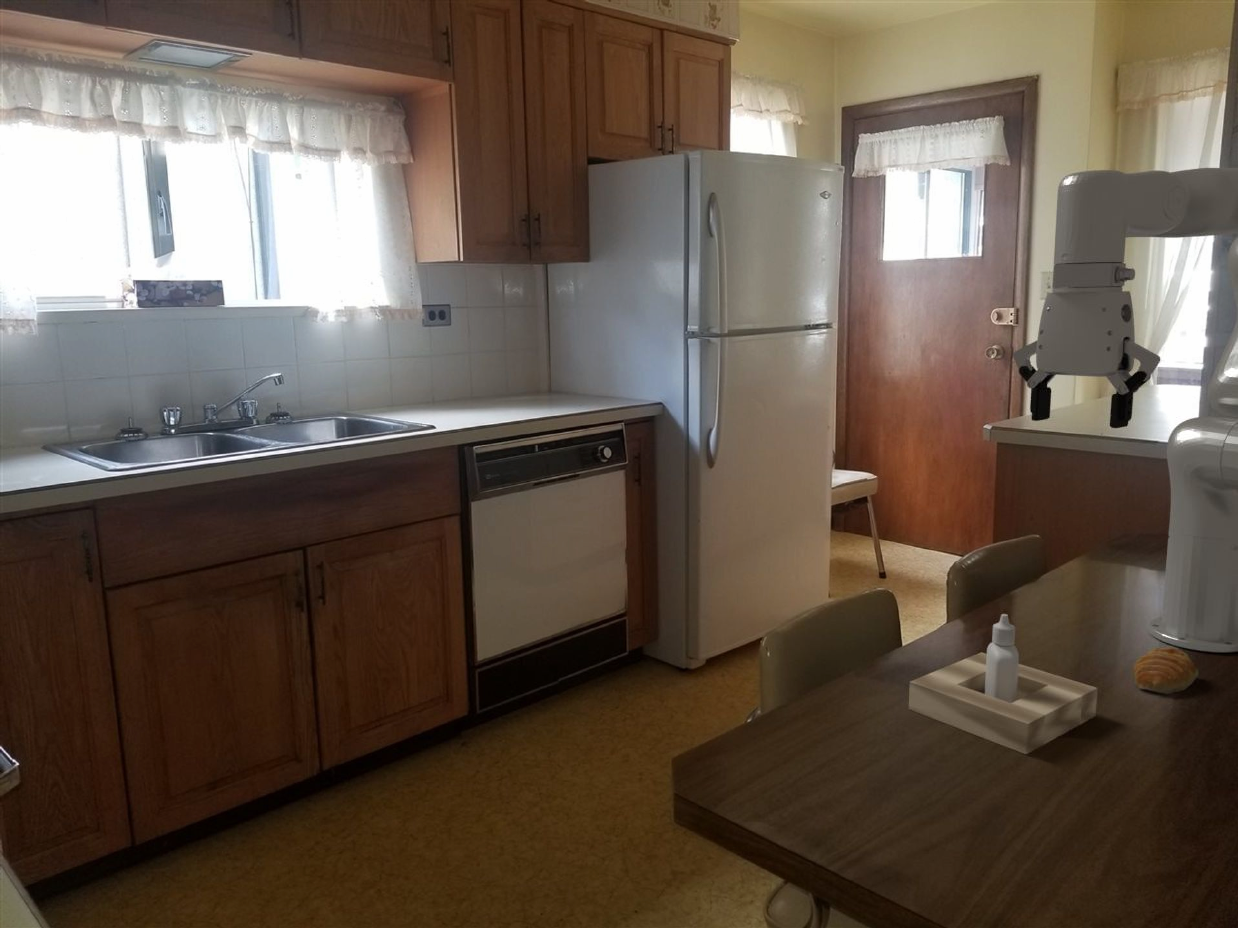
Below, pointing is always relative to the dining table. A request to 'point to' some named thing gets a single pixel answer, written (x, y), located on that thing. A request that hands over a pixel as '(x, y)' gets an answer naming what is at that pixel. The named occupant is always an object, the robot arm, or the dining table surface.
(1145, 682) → the pastry
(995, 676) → the eye dropper bottle
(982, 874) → the dining table surface
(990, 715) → the rectangular frame
